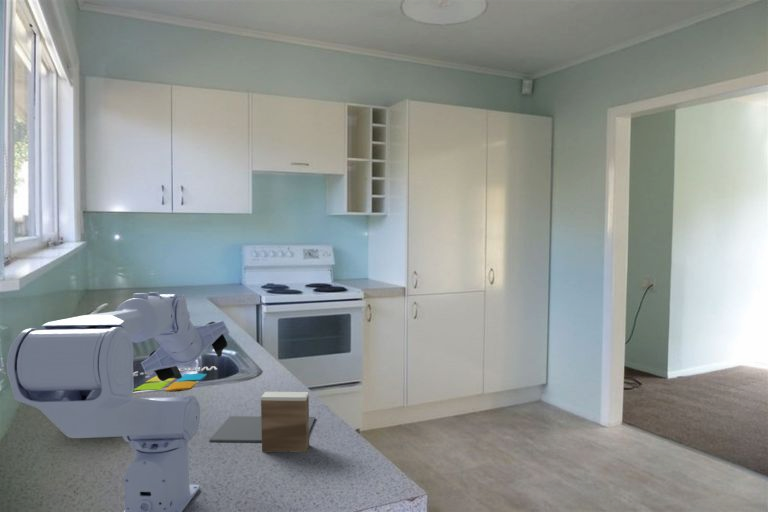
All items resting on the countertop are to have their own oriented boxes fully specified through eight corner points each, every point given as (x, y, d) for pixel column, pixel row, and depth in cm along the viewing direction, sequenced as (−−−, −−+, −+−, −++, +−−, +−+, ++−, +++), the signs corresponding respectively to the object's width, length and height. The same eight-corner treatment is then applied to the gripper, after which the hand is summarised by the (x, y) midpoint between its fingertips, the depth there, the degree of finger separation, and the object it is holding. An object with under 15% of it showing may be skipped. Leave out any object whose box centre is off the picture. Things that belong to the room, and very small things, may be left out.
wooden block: (306, 452, 97) (305, 397, 96) (262, 451, 97) (260, 397, 96) (309, 445, 100) (308, 392, 99) (266, 444, 100) (265, 391, 99)
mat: (304, 442, 101) (304, 440, 101) (209, 441, 101) (209, 439, 101) (315, 418, 113) (315, 417, 113) (229, 418, 113) (229, 416, 113)
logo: (217, 364, 153) (215, 385, 134) (217, 368, 153) (215, 389, 134) (131, 370, 147) (115, 393, 128) (131, 374, 147) (115, 397, 128)
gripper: (209, 295, 91) (225, 325, 102) (124, 338, 86) (151, 365, 98) (227, 328, 88) (242, 356, 100) (140, 375, 83) (166, 397, 95)
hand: (198, 362), depth 99 cm, fingers open, 7 cm apart
